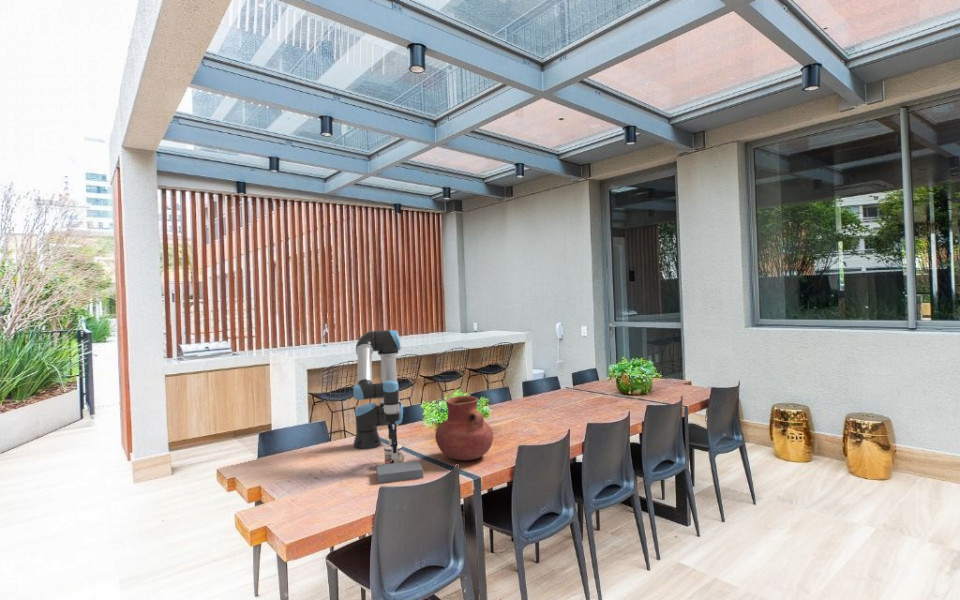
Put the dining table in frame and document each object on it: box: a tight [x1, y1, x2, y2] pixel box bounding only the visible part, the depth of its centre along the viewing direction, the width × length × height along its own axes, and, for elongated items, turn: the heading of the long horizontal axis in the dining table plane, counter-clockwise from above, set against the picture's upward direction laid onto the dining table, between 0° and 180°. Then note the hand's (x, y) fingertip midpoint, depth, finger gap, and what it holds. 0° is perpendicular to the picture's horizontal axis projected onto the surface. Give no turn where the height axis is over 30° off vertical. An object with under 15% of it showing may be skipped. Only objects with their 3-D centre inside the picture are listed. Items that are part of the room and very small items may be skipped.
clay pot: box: [435, 395, 494, 461], centre depth 255 cm, size 30×29×30 cm
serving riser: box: [375, 459, 424, 485], centre depth 231 cm, size 14×20×4 cm
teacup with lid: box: [383, 442, 405, 464], centre depth 247 cm, size 12×9×12 cm
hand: (393, 455), depth 247 cm, fingers open, 13 cm apart
